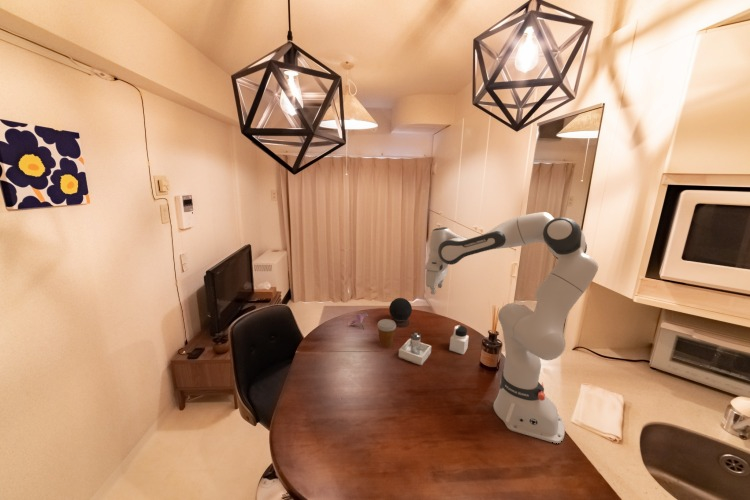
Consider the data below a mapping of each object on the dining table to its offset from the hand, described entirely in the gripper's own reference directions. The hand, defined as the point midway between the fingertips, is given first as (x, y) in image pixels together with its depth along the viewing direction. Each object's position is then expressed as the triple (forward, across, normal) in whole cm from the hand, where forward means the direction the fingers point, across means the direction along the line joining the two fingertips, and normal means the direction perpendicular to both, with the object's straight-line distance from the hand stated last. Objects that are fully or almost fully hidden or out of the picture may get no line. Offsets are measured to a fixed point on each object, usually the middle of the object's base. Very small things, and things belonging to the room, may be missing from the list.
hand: (436, 290), depth 135 cm
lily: (+31, +1, -43) cm, 53 cm away
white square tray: (+31, +9, -6) cm, 33 cm away
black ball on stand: (+31, -16, -26) cm, 44 cm away
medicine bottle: (+32, -7, +11) cm, 34 cm away
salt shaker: (+30, +9, -6) cm, 32 cm away
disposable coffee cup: (+31, +9, -22) cm, 39 cm away
